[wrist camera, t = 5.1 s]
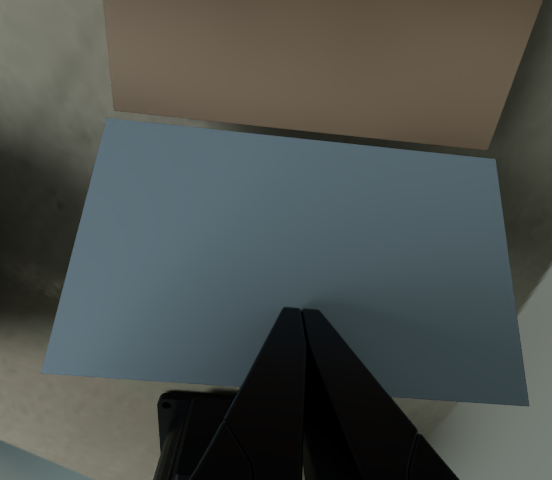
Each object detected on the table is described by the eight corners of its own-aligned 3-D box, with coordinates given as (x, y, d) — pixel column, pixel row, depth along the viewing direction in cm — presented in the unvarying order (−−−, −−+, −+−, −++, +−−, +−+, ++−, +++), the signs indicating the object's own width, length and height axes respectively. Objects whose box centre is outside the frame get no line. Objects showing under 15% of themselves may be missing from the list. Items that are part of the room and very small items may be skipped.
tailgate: (471, 177, 11) (496, 399, 9) (121, 140, 10) (67, 369, 8) (495, 159, 10) (529, 406, 8) (106, 117, 9) (41, 373, 7)
